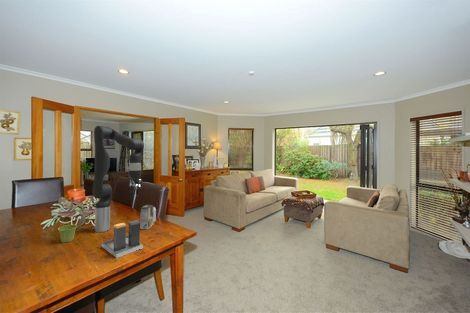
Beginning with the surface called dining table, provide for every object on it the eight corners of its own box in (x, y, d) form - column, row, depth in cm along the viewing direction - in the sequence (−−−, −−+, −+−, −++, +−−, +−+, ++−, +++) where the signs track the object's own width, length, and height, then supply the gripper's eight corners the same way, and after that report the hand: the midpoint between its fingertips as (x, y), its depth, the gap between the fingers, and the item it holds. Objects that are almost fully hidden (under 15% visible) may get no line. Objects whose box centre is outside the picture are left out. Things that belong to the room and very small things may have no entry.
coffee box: (145, 224, 162) (145, 204, 162) (153, 225, 162) (153, 204, 162) (139, 229, 153) (140, 207, 153) (148, 229, 153) (148, 208, 152)
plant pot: (80, 239, 134) (80, 225, 133) (64, 245, 125) (64, 231, 124) (70, 236, 137) (70, 223, 136) (54, 242, 128) (54, 228, 128)
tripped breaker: (113, 249, 116) (113, 225, 116) (122, 246, 120) (123, 222, 120) (116, 251, 114) (116, 226, 114) (125, 248, 118) (126, 224, 118)
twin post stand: (101, 246, 124) (102, 220, 124) (127, 238, 136) (127, 214, 135) (116, 258, 112) (116, 228, 111) (142, 248, 124) (143, 221, 123)
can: (147, 220, 172) (147, 206, 172) (156, 220, 173) (157, 206, 172) (144, 223, 165) (144, 208, 164) (154, 223, 165) (154, 208, 165)
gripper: (146, 170, 135) (145, 194, 135) (135, 168, 143) (134, 191, 144) (134, 170, 129) (134, 196, 129) (124, 168, 138) (123, 192, 138)
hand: (134, 193), depth 137 cm, fingers open, 8 cm apart
